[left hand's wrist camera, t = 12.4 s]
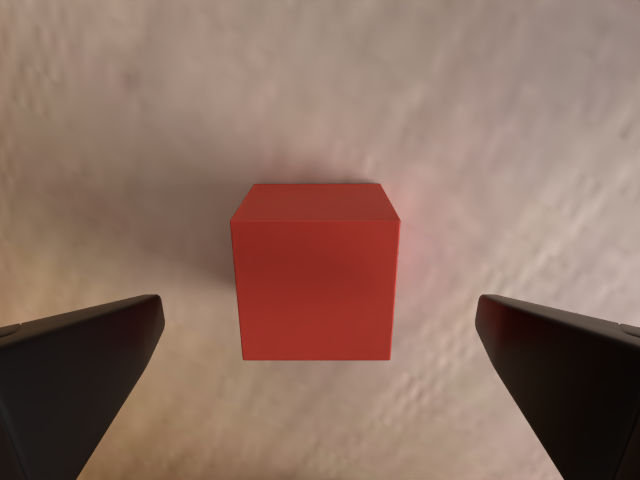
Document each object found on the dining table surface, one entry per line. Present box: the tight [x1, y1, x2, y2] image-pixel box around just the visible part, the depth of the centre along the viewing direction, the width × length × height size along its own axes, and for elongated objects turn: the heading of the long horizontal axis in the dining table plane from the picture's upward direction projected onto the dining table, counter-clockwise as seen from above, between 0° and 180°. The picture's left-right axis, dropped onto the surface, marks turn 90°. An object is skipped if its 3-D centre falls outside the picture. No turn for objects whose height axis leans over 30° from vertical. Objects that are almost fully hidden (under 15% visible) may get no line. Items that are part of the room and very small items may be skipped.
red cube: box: [230, 184, 401, 360], centre depth 15 cm, size 5×5×5 cm
